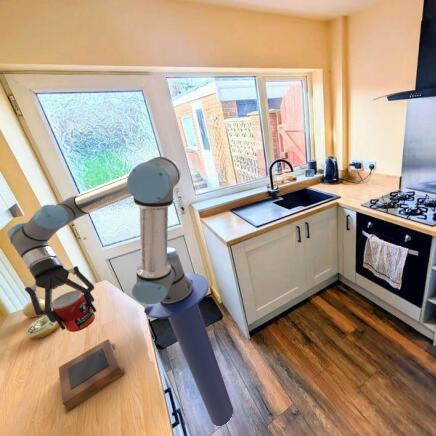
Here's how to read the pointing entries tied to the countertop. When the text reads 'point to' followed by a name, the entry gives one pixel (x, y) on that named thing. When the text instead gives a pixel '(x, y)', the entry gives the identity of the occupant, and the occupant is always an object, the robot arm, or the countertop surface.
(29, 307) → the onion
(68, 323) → the canned food
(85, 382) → the wooden picture frame
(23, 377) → the countertop surface
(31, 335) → the decorated donut
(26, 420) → the countertop surface
